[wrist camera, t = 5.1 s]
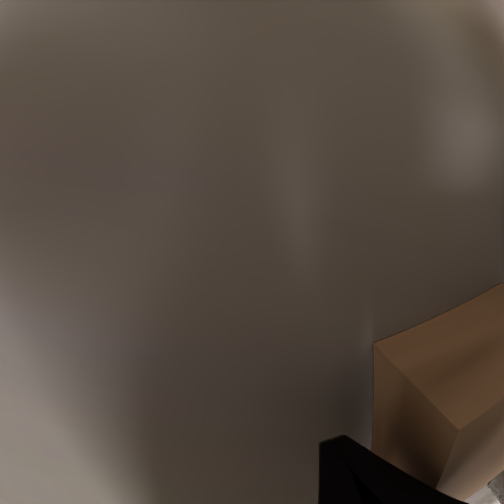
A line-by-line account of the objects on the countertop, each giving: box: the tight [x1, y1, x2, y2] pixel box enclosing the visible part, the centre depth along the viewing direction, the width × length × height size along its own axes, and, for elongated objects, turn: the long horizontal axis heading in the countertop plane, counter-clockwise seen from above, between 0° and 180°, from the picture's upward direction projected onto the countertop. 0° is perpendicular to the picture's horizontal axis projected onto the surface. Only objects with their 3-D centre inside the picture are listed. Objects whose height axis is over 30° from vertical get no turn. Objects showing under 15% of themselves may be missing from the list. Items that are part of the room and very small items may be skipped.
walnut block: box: [371, 283, 504, 501], centre depth 7 cm, size 6×6×4 cm
